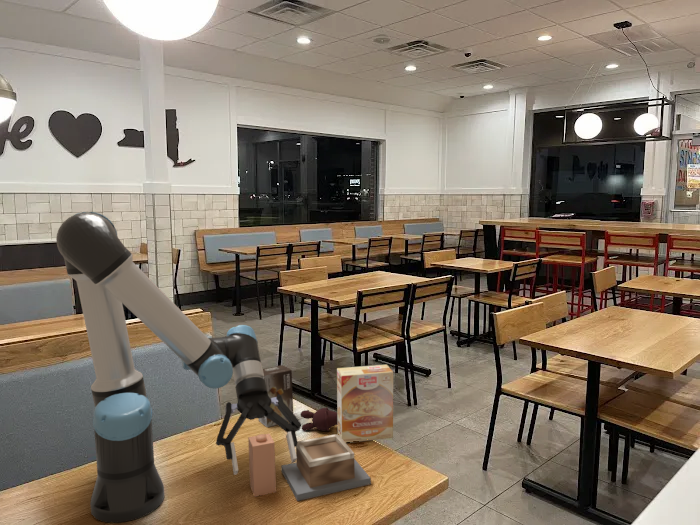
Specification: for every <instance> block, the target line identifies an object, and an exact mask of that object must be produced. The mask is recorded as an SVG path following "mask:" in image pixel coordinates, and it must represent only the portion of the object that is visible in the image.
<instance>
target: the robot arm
mask: <svg viewBox="0 0 700 525" xmlns="http://www.w3.org/2000/svg"><path fill="white" fill-rule="evenodd" d="M55 241H56V245H57V249H58V251H59V253H60V255H61V256H62V257H63V259H64V263H65V270H66V274H67V276H68V277H70V278H72V279H73V280H75V281H76V286H77V290H78V294H79V301H80V304H81V309H82V310H81V311H82V315H83V319H84V325H85V329H86V334H87V339H88V343H89V349H90V354H91V358H92V363H93V369H94V373H95V374H94V375H95V378H96V379H94V382H93V383H92V384H91V385H90V389H91V394H92V399H93V404H94V409H93V416H92V427H93V430H94V433H93V434H94V445H95V459H96V468H97V469H96V473H97V475H96V476H97V477H96V480H95V484H94V487H93V490H92V491H93V492H92V494H91V498H90V512H91V515H93V516H94V517H95V518H96V519H95V518H94V517H93V516H92V517H93V518H94V519H95V520H97V519H98V520H97V521H99V520H101V521H100V522H103V521H104V522H103V523H110V522H113V523H112V524H115V523H124V522H129V521H133V520H137V519H140V518H142V517H144V516H147V515H148V514H150V513H152V512H153V511H155V510H156V509H157V508H159V507H160V505H161V504H162V503H163V501H164V499H165V485H164V482H163V480H162V478H161V476H160V473H159V471H158V469H157V467H156V465H155V453H154V452H155V451H154V436H153V421H152V420H153V419H152V418H153V408H152V406H151V402H150V400H149V396H148V394H147V390H146V384H145V380H144V375H143V373H142V372H141V371H139V370H137V369H136V368H135V362H134V359H133V358H134V357H133V352H132V347H131V342H130V338H129V337H130V336H129V332H128V327H127V321H126V316H125V311H124V310H125V309H124V307H126V308H127V309H128V310H129V311H130V312H131V313H132V314H133V315H134V316H136V317H137V319H138V320H140V322H142V324H143V325H145V327H147V328H148V330H150V331H151V332H152V333H153V334H154V335H155V336H156V337H157V338H158V339H159V340H160V341H161V342H162V343H164V344H165V346H167V348H169V349H170V350H171V351H172V352H173V353H174V354H175V356H177V357H178V358H179V359H180V361H181V366H182V368H183V370H186V371H188V370H189V371H193V373H194V374H195V375H196V376H197V377H198V379H199V381H200V382H201V383H202V384H203V385H204V386H205V387H207V388H209V389H220V388H223V387H224V386H226V385H227V384H228V383H229V382H230V381H231V379H232V377H233V381H234V385H235V393H236V399H237V403H231V402H230V401H228V402H227V403H226V404H225V413H224V414H225V415H224V417H223V420H222V423H221V426H220V429H219V432H218V434H217V437H216V442H215V444H216V446H223V447H224V450H225V458H226V459H227V461H230V460H231V464H232V471H233V476H234V475H238V473H239V466H238V460H237V454H236V452H237V451H236V445H235V441H234V442H232V441H233V440H234V438H235V437H236V436H237V433H238V431H240V428H241V427H242V425H244V423H245V421H246V420H250V421H251V420H252V421H253V420H255V419H258V418H262V417H264V416H265V417H267V418H268V419H270V420H272V421H273V422H274V423H276V424H277V425H276V426H278V427H280V428H281V429H282V430H283V431H284V432H286V435H285V437H286V442H287V447H288V452H289V455H290V456H289V457H290V461H291V463H296V462H297V461H296V459H297V456H296V446H297V442H298V439H297V434H296V433H297V432H298V431H300V429H301V428H302V423H301V422H300V420H299V419H298V418H297V417H296V416H295V414H294V412H293V413H292V412H291V411H290V409H289V408H288V407H287V406H286V404H285V403H284V402H283V399H282V396H281V395H280V394H278V395H277V397H273V398H270V397H269V396H268V392H267V387H266V382H265V380H264V373H263V369H264V368H263V364H262V361H261V360H262V359H261V354H260V351H259V350H260V349H259V344H258V343H259V342H258V338H257V336H256V332H255V330H254V328H253V327H251V326H249V325H246V324H239V325H236V326H233V327H231V328H229V329H228V331H227V332H226V335H224V336H217V337H215V336H214V337H208V336H207V335H206V334H205V333H204V332H203V331H202V330H201V329H200V328H198V326H197V325H196V324H195V323H194V322H193V321H192V320H191V319H190V318H189V317H188V316H187V315H186V314H185V313H184V312H183V311H182V310H181V309H180V308H179V307H178V306H177V305H176V303H174V302H173V301H172V300H171V299H170V298H169V297H168V296H167V295H166V294H165V293H164V292H163V291H162V290H161V289H160V288H159V287H158V286H157V285H156V283H154V281H152V280H151V279H150V278H149V277H148V275H147V274H146V273H145V272H144V271H143V270H142V269H141V268H140V267H139V266H138V265H137V264H136V263H135V262H134V261H133V260H134V258H133V253H131V251H130V250H128V248H127V247H126V246H125V245H124V244H123V243H122V241H121V239H120V238H119V237H118V232H117V228H115V224H114V223H113V222H112V221H111V220H110V218H108V217H106V216H105V215H103V214H102V213H98V212H95V211H83V212H78V213H75V214H73V215H71V216H69V217H68V218H67V219H66V220H64V221H63V222H62V223H61V224H60V227H59V228H58V230H57V232H56V240H55ZM271 403H273V404H274V405H275V406H277V407H278V409H279V410H280V412H281V413H282V414H283V415H284V417H285V418H286V419H287V420H288V422H287V421H286V420H285V419H283V418H282V417H281V416H280V415H278V414H277V413H276V412H274V410H273V409H272V408H271V407H270V404H271ZM235 410H237V411H238V412H239V413H240V415H239V417H238V419H237V420H236V422H235V423H234V425H233V427H232V429H231V430H230V431H229V433H228V434H227V436H226V438H225V437H224V436H225V433H226V431H227V428H228V425H229V422H230V419H231V415H232V414H234V413H235ZM114 522H115V523H114Z"/></svg>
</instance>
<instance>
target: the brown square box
mask: <svg viewBox="0 0 700 525" xmlns="http://www.w3.org/2000/svg"><path fill="white" fill-rule="evenodd" d="M295 452H296V456H297V459H296V461H295V462H297V467H298V469H299V470H300V472H301V474H302V475H303V477H304V479H305V480H306V482H307V484H308V485H309V487H310V488H312V487H317V486H321V485H326V484H330V483H335V482H339V481H344V480H348V479H353V478H355V468H354V459H355V452H354V451H353V450H352V449H351V447H350V446H349V445H348V443H345V442H344V441H343V439H342V438H341V437H340V436H339V435H338V433H337V434H331V435H326V436H325V435H324V436H320V437H314V438H309V439H308V438H307V439H304V440H299V441H298V440H297V446H296V447H295Z"/></svg>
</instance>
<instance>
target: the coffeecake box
mask: <svg viewBox="0 0 700 525" xmlns="http://www.w3.org/2000/svg"><path fill="white" fill-rule="evenodd" d="M336 384H337V385H336V391H337V392H336V400H337V402H336V403H337V407H336V408H337V409H336V410H337V411H336V412H337V425H336V427H337V434H339V436H340V437H341V438H342V439H343V441H344V442H345V443H346V442H350V443H354V442H353V441H359V442H366V441H374V440H375V441H376V440H385V439H393V438H394V371H393V369H391V368H390V367H389V365H388V364H376V365H364V366H362V365H361V366H352V367H351V366H349V367H337V368H336ZM367 439H368V440H367ZM370 439H371V440H370ZM346 444H347V443H346Z"/></svg>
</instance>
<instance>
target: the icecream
mask: <svg viewBox="0 0 700 525" xmlns="http://www.w3.org/2000/svg"><path fill="white" fill-rule="evenodd" d="M300 417H301V418H303V419H307V420H310V419H311V421H312V422H306V423H304V424H302V425H301V430H302V431H304V432H306V431H305V430H309V431H311V430H313V429H317V430H318V431H321V432H326V430H327V431H328V432H330V431H331V428H333V427H335V426H336V427H337V411H334V410H331V409H329V408H328V406H326V407H321V408H320V409H318V410H316V411H315V412H312V411H310V410H309V409H307V410H305V409H304V410H302V411H301V412H300ZM329 428H330V429H329ZM329 430H330V431H329Z"/></svg>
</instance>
